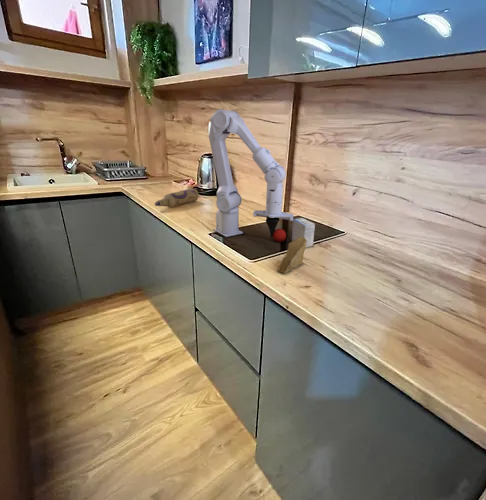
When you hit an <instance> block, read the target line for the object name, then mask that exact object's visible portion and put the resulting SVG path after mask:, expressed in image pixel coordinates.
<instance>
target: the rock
mask: <svg viewBox="0 0 486 500" xmlns="http://www.w3.org/2000/svg"><path fill="white" fill-rule="evenodd" d="M306 243H307V241H306V239H305V238H304V237H299V238H297V239H295V240H293V241H292V240H291V242H289V243H288V247H287V250H286V252H285V255H284V256H283V258H282V260H281V264H280V266H279V267H278V270H277V271H278V272H280V273H282V274H286V273H288V272H289V271H291V270H293V269H296V268H297V267H298V266H301V265H302V264H303V261H304V254H305V252H306V248H307V247H306Z"/></svg>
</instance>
